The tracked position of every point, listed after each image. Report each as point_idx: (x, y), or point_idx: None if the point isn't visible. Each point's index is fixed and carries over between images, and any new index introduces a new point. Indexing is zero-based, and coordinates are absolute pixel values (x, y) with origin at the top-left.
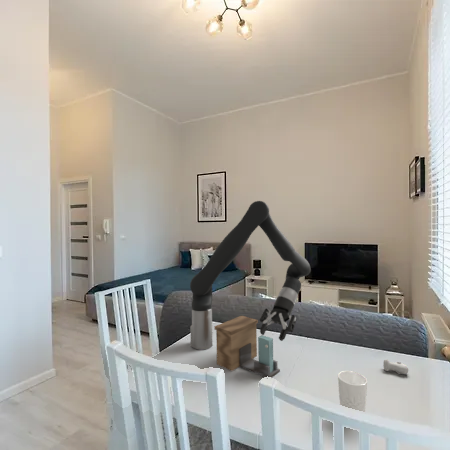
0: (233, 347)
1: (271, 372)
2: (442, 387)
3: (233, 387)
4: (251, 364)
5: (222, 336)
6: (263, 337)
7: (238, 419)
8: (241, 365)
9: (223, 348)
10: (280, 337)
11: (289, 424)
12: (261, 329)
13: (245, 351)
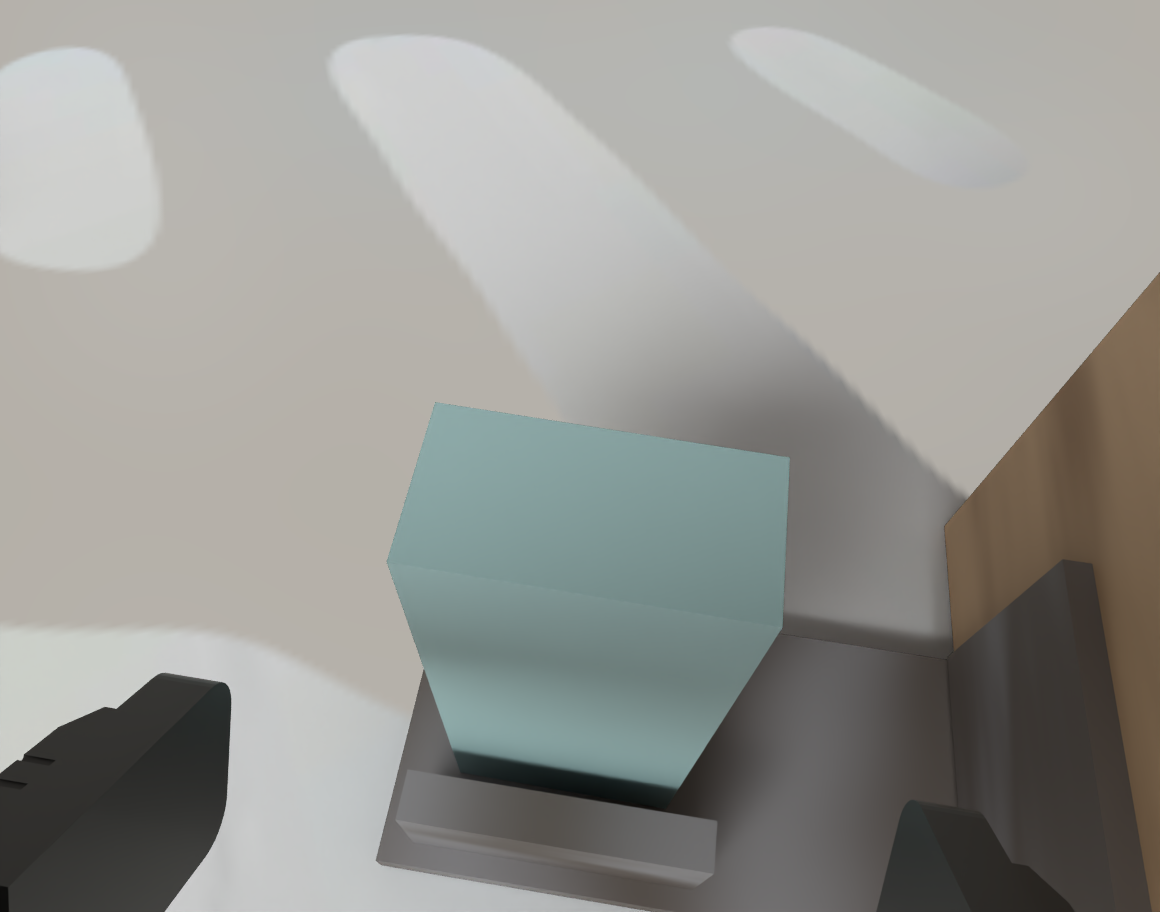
0: (1109, 383)
1: None
2: None
3: (714, 299)
4: (830, 757)
5: None
6: (656, 501)
7: (462, 65)
8: (927, 657)
9: None
10: (156, 677)
11: (106, 150)
12: (1003, 869)
13: (1035, 741)
